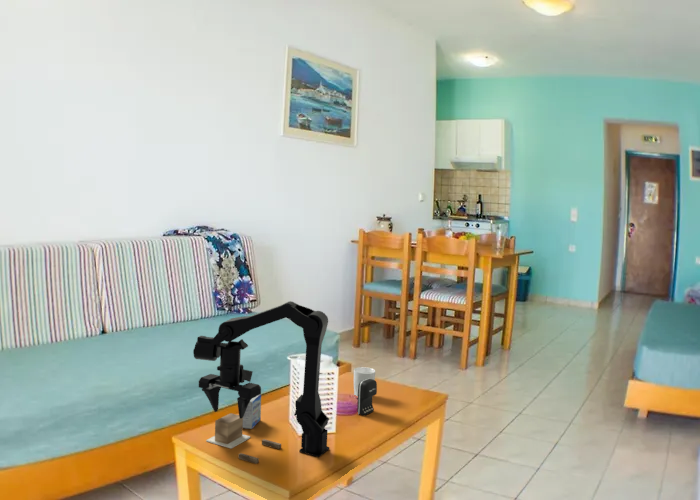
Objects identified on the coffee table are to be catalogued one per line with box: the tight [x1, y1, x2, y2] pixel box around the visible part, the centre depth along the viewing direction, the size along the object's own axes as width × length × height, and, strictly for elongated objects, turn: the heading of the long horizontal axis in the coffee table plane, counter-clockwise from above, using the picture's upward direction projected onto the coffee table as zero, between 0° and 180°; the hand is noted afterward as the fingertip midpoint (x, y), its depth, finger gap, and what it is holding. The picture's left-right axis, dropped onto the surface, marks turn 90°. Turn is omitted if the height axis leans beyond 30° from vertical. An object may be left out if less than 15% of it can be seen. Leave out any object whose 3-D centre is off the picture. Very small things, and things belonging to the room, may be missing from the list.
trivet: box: [205, 433, 251, 449], centre depth 174 cm, size 9×9×1 cm
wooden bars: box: [238, 438, 282, 465], centre depth 166 cm, size 6×12×1 cm, turn 153°
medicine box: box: [243, 393, 262, 430], centre depth 186 cm, size 8×4×9 cm, turn 168°
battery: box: [356, 378, 378, 416], centre depth 200 cm, size 7×4×11 cm, turn 144°
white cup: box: [353, 366, 376, 396], centre depth 216 cm, size 8×8×10 cm
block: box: [214, 412, 244, 444], centre depth 173 cm, size 4×7×6 cm, turn 153°
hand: (228, 414), depth 173 cm, fingers open, 9 cm apart
